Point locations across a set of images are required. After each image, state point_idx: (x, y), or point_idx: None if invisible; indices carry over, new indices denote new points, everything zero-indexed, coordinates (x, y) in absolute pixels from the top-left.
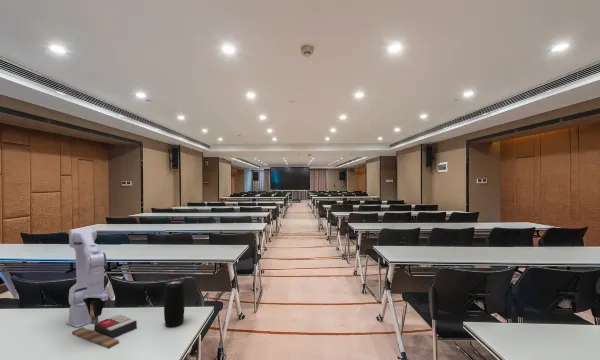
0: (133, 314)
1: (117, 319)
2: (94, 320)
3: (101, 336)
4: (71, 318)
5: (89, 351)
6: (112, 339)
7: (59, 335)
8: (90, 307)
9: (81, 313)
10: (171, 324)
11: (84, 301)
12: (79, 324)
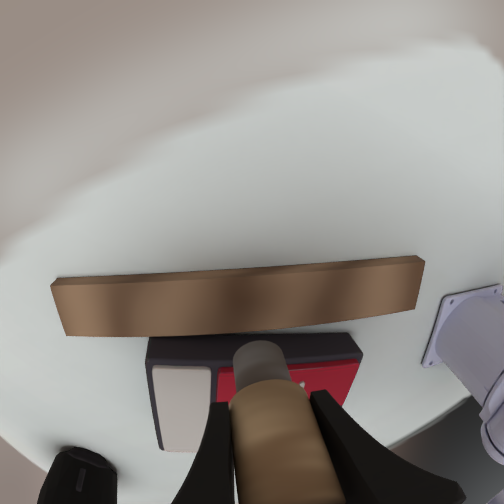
0: None
1: None
2: (237, 373)
3: (195, 319)
4: (501, 306)
5: (107, 211)
6: (101, 328)
7: (456, 220)
8: (300, 469)
9: (479, 346)
10: (58, 455)
11: (432, 487)
12: (452, 311)
